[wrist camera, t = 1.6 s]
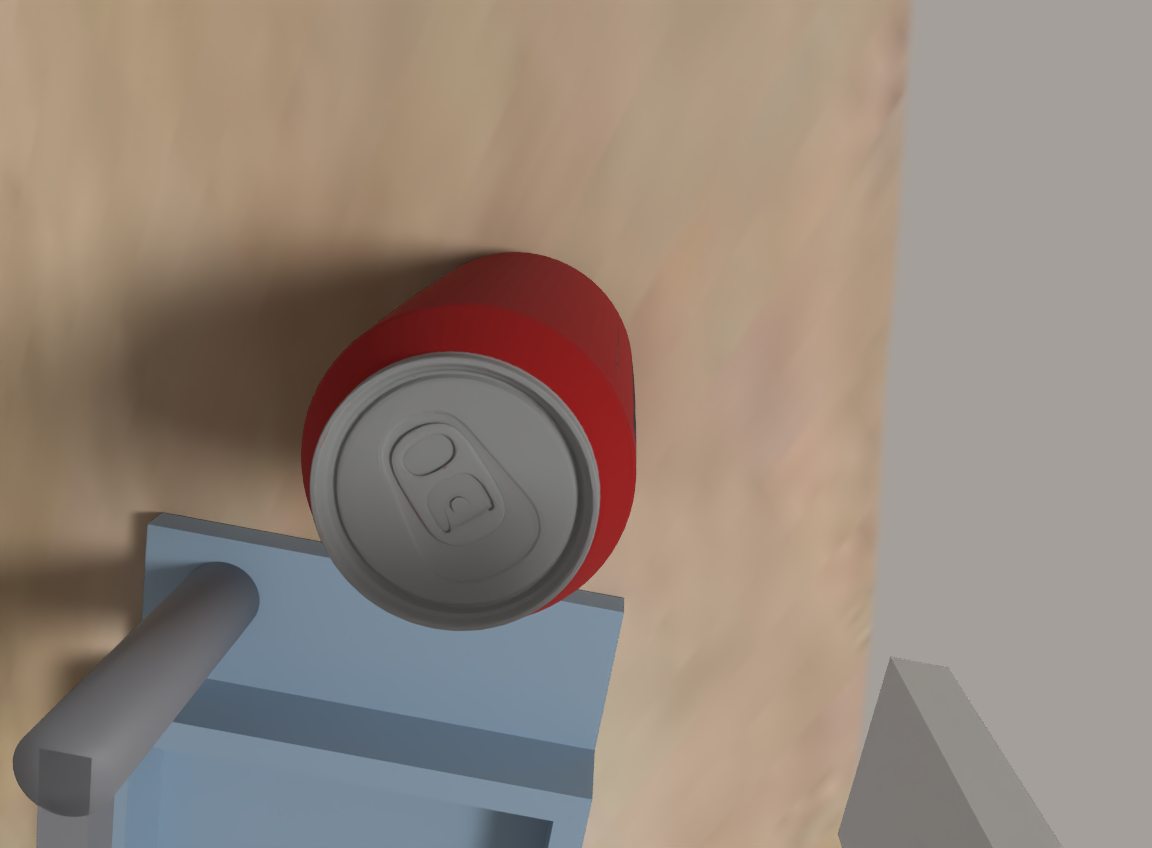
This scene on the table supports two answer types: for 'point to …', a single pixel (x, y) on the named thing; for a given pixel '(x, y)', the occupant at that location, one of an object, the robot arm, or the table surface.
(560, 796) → the light blue hollow tray
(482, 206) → the table surface
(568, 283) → the beverage can
